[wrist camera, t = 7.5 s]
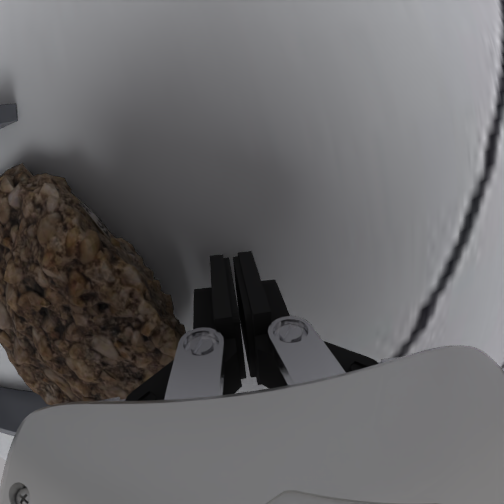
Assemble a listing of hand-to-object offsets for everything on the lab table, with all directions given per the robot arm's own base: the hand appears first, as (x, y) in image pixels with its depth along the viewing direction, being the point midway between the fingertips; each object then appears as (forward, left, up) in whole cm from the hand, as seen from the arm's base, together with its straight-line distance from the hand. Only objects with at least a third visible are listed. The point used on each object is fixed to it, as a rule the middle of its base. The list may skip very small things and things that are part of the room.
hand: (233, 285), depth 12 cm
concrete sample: (+8, -1, -1) cm, 8 cm away
